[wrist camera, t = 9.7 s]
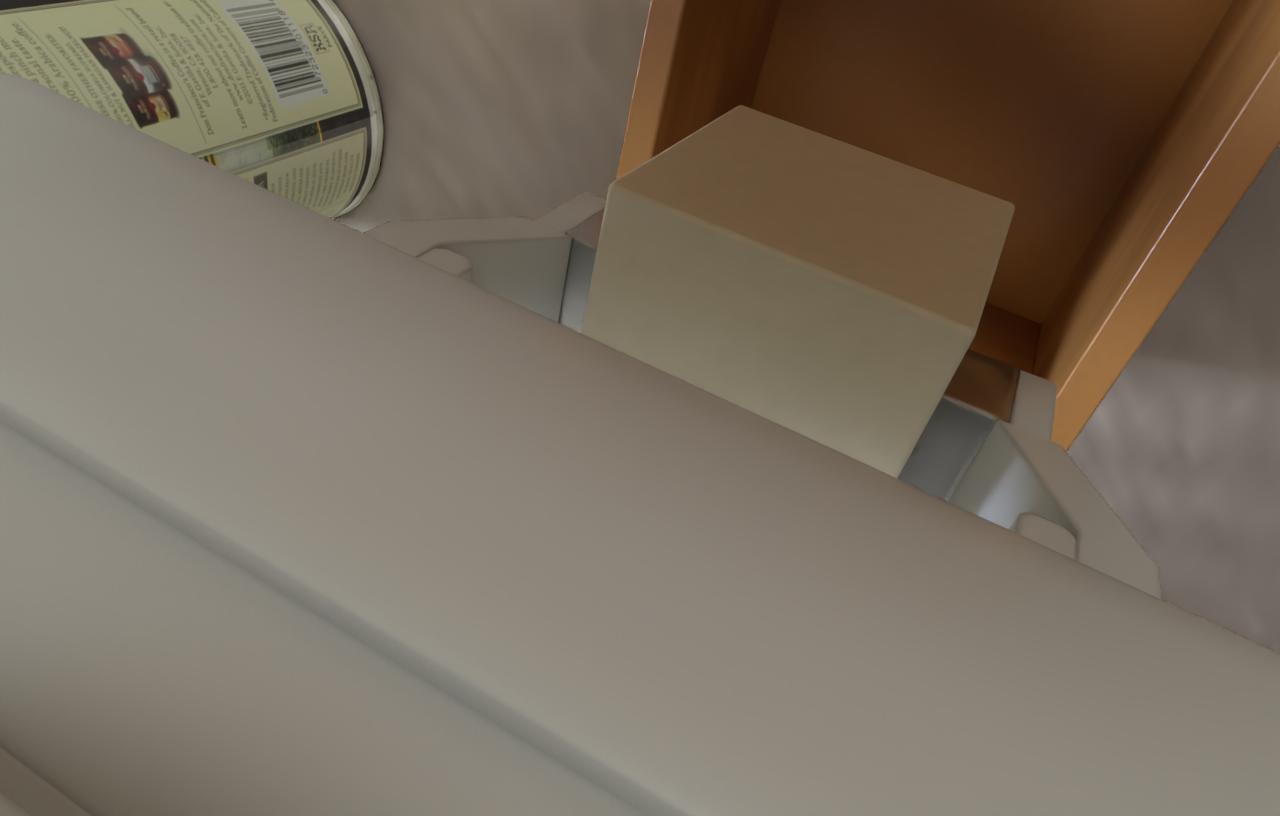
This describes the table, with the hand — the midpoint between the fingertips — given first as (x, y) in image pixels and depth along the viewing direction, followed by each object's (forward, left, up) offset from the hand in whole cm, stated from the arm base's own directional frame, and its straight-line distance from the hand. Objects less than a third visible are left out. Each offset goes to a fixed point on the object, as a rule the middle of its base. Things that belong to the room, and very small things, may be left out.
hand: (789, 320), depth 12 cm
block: (0, 0, -2) cm, 2 cm away
